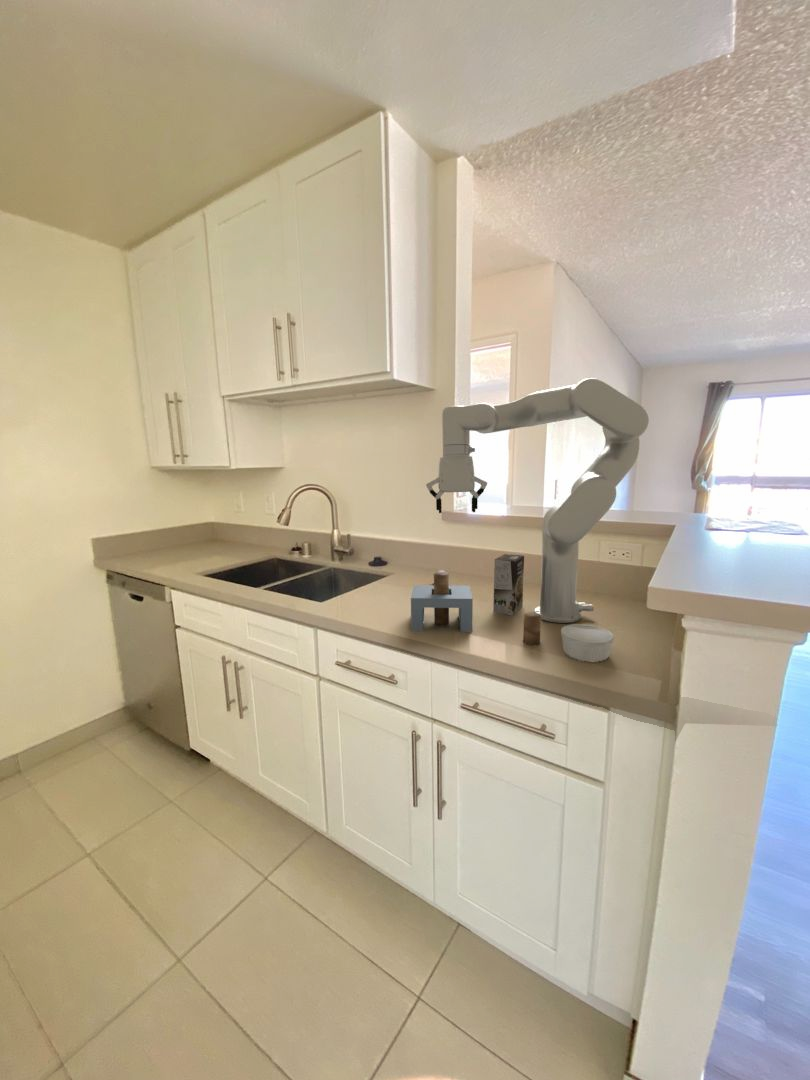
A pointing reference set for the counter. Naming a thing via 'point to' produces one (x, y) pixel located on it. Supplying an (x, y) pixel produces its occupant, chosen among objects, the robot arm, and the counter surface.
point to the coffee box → (508, 584)
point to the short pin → (532, 628)
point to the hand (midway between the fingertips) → (456, 512)
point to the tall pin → (441, 589)
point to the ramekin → (586, 642)
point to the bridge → (441, 604)
